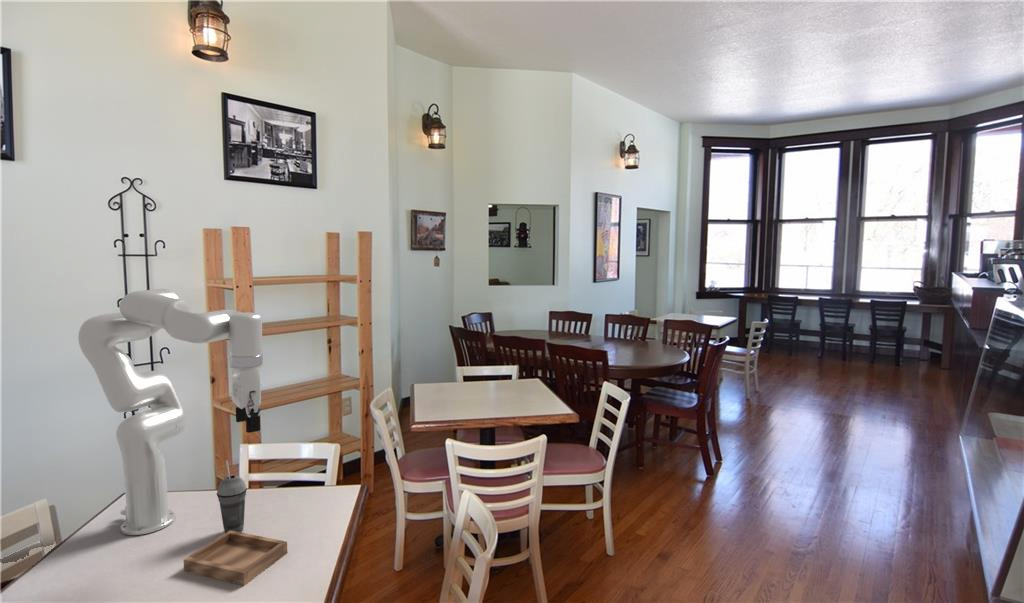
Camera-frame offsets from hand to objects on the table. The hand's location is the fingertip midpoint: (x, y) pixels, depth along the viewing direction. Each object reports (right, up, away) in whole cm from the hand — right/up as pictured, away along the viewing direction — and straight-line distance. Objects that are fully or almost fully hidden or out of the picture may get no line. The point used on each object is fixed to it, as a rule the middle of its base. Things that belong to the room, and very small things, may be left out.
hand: (247, 426), depth 140 cm
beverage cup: (-7, -31, +7) cm, 32 cm away
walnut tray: (+1, -32, -7) cm, 33 cm away
